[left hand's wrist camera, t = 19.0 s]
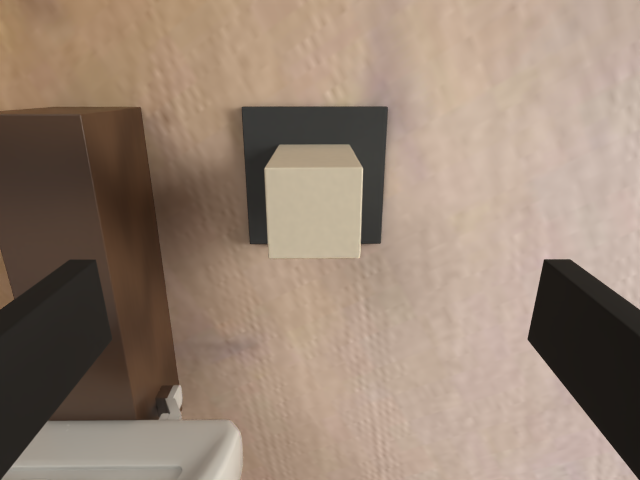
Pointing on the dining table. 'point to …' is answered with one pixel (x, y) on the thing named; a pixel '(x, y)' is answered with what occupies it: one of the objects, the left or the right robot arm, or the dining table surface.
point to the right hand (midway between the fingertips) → (127, 391)
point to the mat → (315, 128)
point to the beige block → (314, 202)
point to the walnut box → (91, 242)
